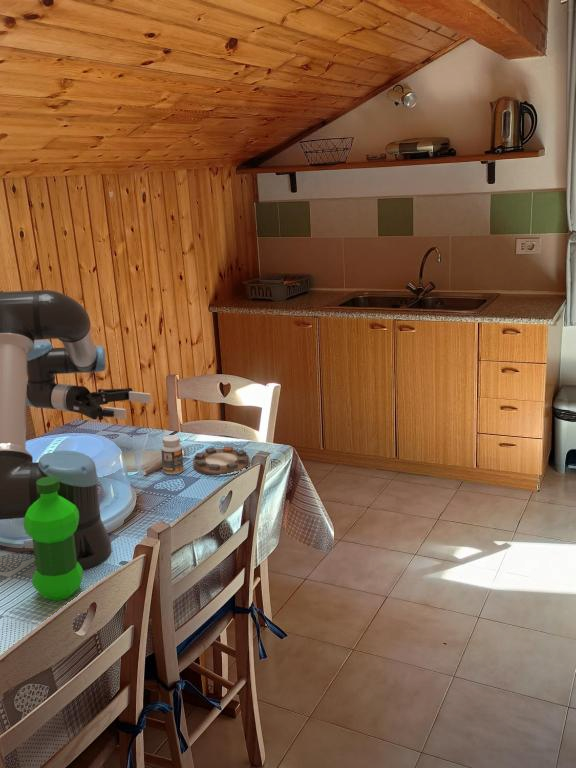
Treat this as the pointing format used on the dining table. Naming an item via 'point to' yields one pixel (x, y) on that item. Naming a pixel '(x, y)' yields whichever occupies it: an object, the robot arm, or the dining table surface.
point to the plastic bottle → (53, 541)
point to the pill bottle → (172, 455)
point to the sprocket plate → (220, 461)
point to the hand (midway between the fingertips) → (138, 406)
